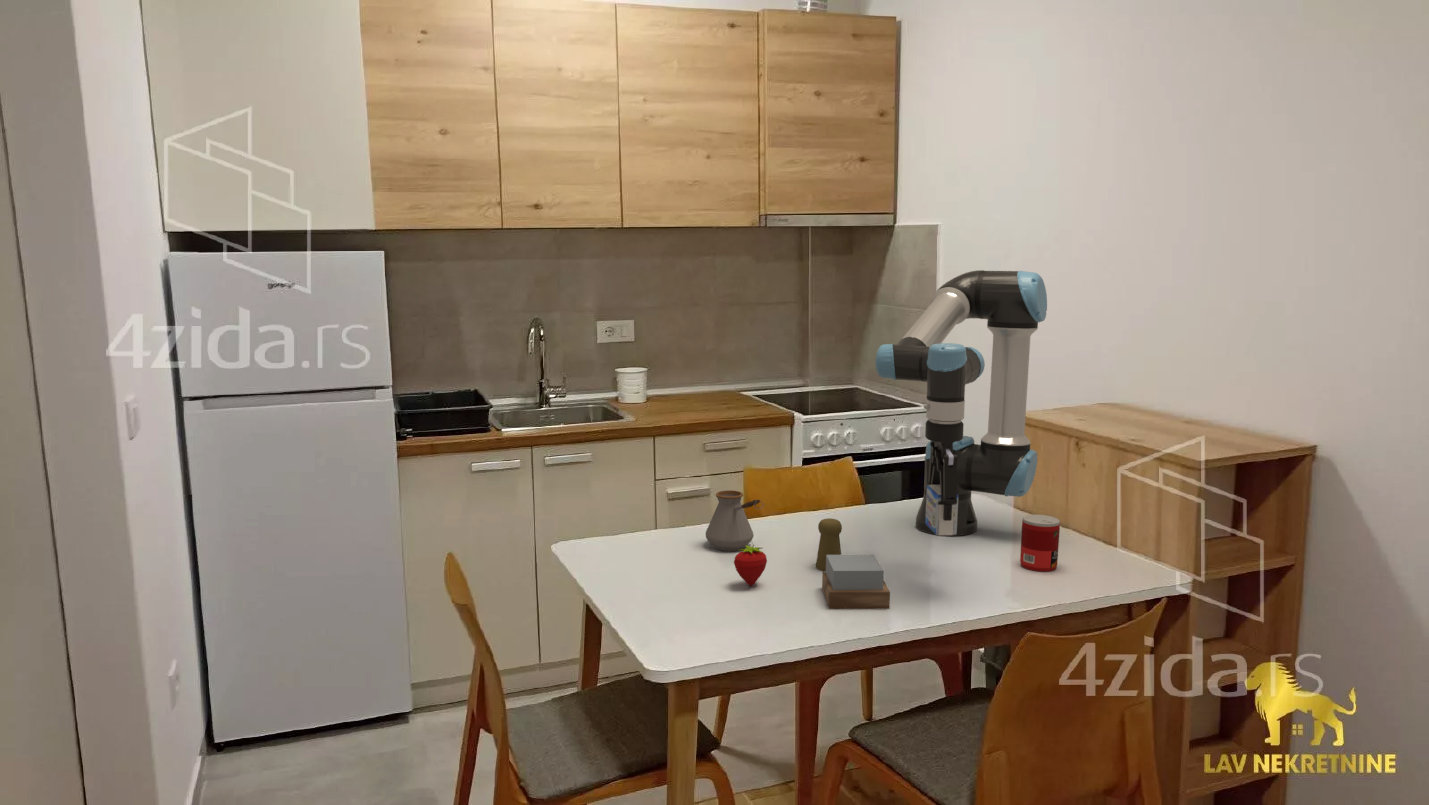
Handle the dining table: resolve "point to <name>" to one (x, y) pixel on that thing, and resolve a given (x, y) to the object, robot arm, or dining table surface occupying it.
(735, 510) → the coffee pot
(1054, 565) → the canned food
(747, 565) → the strawberry
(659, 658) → the dining table surface
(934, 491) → the medicine box
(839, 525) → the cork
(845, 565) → the slate slab
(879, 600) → the walnut slab
